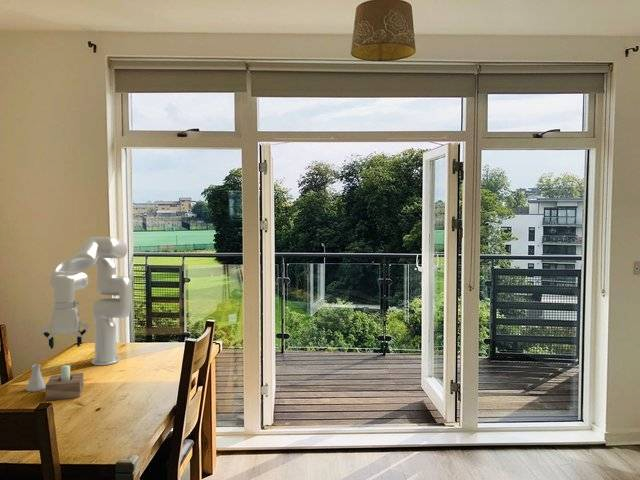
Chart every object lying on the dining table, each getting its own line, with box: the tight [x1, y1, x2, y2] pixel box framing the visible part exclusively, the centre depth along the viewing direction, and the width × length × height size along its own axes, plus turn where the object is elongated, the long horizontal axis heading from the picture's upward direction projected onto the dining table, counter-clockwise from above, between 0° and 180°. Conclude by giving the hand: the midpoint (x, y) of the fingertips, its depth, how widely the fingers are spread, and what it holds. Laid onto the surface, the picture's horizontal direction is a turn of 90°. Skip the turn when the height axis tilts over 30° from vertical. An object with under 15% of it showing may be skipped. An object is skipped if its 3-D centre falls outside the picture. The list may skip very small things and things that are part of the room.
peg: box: [60, 364, 71, 381], centre depth 197 cm, size 3×3×10 cm
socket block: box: [45, 372, 84, 401], centre depth 197 cm, size 12×12×6 cm
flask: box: [25, 363, 47, 393], centre depth 201 cm, size 7×7×10 cm
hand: (65, 346), depth 197 cm, fingers open, 9 cm apart
